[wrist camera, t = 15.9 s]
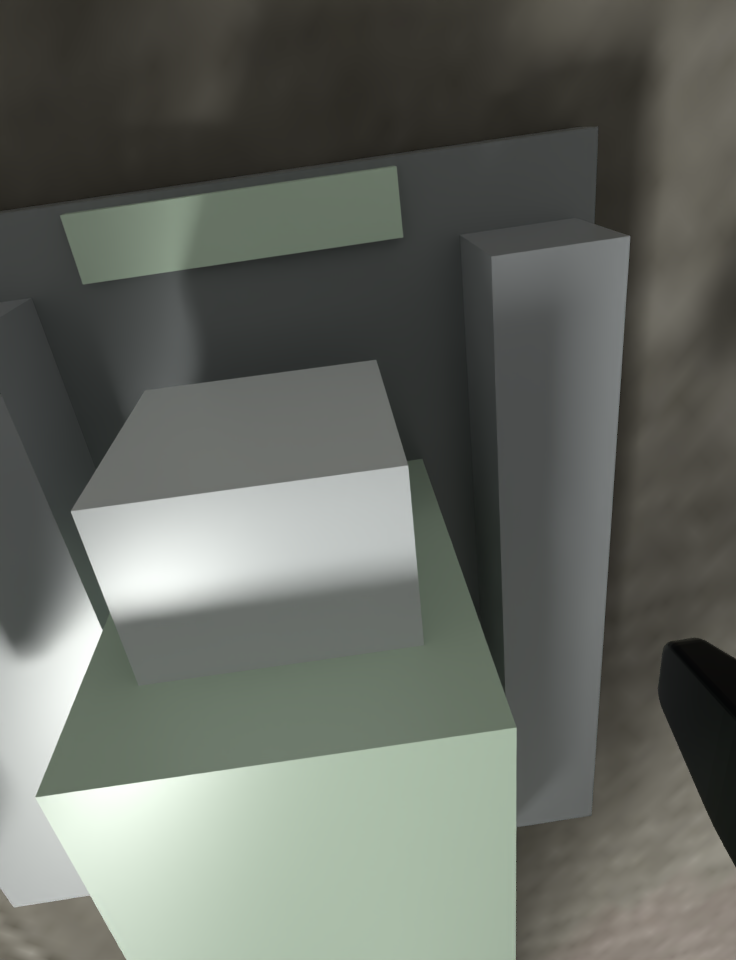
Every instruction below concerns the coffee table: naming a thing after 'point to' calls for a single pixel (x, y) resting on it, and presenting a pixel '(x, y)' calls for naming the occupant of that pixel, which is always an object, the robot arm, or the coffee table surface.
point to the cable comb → (318, 343)
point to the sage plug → (284, 690)
